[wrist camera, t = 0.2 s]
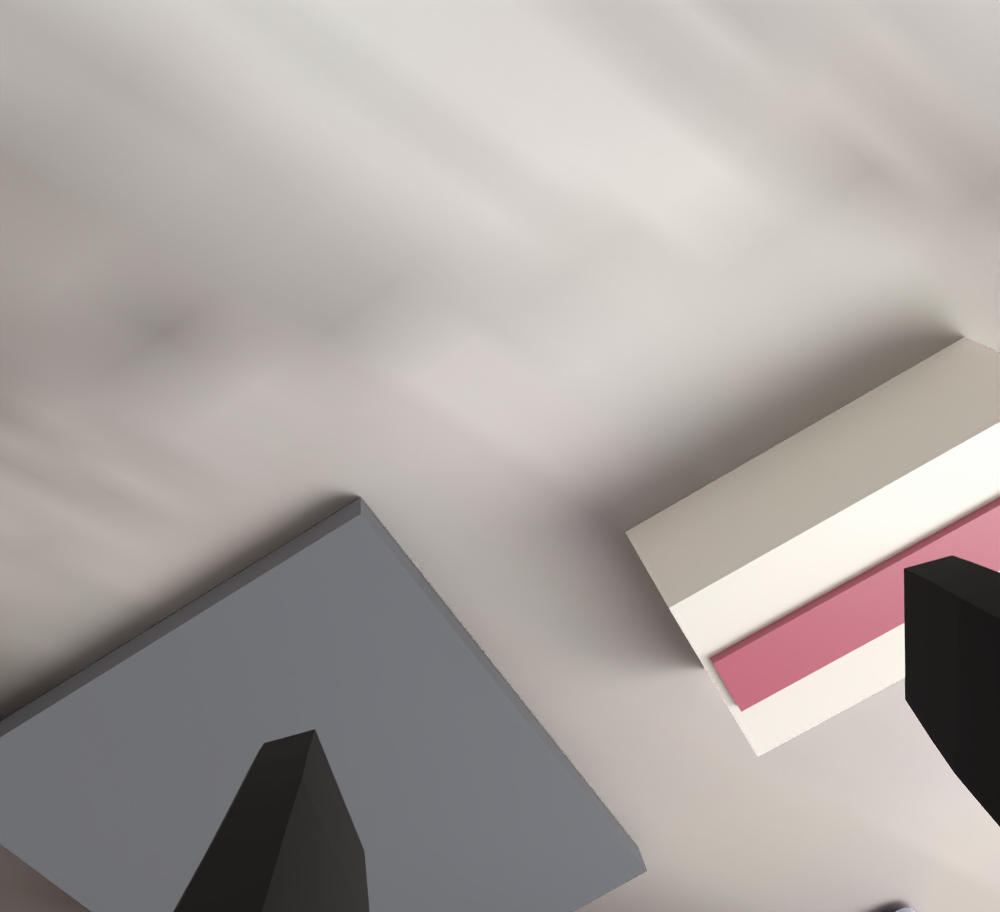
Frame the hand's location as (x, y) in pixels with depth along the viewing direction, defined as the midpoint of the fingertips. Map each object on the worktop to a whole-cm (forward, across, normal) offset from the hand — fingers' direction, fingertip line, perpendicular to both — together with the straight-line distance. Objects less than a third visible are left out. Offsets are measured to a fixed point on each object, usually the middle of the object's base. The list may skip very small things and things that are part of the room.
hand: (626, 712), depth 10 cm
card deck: (+10, -7, +5) cm, 13 cm away
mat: (+10, +7, +10) cm, 15 cm away
